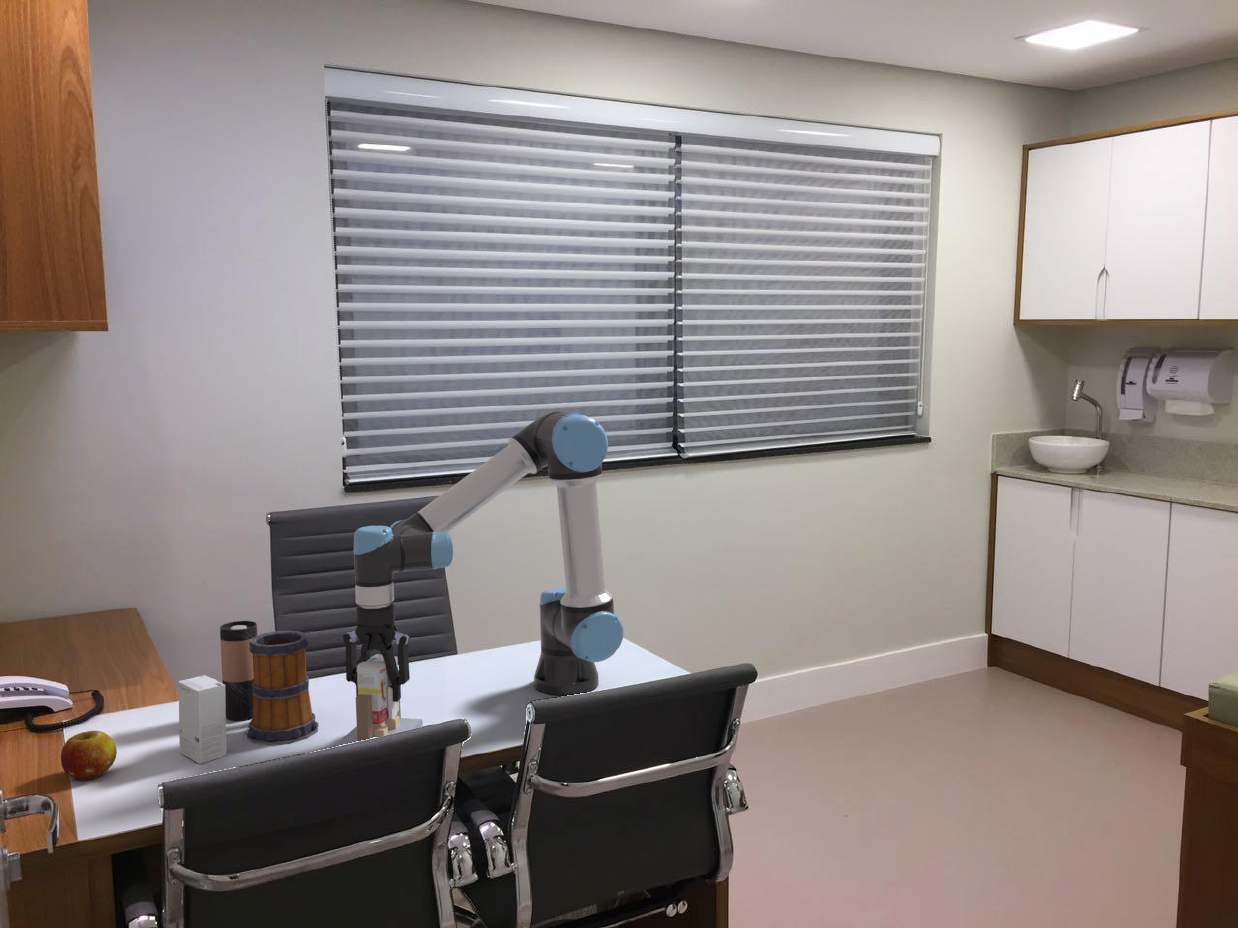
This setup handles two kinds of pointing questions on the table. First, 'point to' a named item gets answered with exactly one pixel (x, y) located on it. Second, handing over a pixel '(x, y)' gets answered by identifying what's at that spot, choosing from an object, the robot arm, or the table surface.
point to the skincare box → (202, 718)
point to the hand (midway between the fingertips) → (379, 715)
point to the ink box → (375, 686)
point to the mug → (280, 689)
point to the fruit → (88, 755)
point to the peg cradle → (370, 730)
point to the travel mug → (238, 668)
